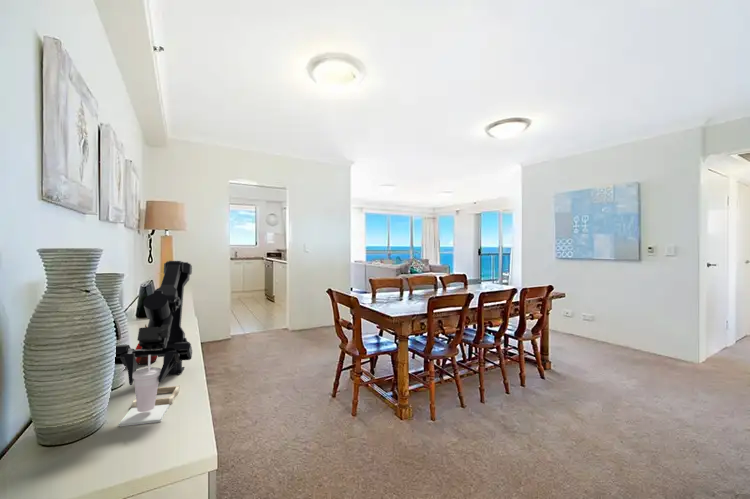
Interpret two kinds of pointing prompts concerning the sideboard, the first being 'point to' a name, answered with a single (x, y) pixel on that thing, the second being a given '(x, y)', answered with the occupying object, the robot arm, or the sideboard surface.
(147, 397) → the smoothie
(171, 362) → the robot arm
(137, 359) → the red clay folk toy
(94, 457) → the sideboard surface
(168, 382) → the sideboard surface
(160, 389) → the frame
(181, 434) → the sideboard surface
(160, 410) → the mat
